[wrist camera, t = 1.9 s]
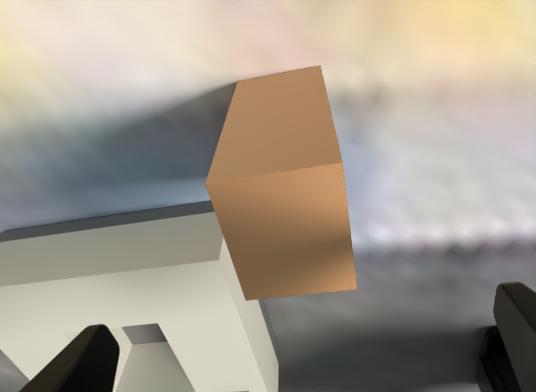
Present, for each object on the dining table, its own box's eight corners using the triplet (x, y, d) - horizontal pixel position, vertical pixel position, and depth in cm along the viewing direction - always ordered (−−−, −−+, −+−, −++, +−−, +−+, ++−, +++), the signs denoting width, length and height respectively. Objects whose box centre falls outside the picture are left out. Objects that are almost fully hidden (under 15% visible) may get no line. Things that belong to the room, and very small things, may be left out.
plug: (320, 65, 16) (342, 162, 10) (332, 160, 19) (357, 288, 12) (237, 81, 17) (205, 183, 10) (260, 171, 19) (245, 300, 13)
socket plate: (231, 197, 20) (216, 268, 16) (278, 351, 27) (277, 427, 23) (5, 230, 22) (-60, 301, 18) (104, 366, 29) (74, 439, 25)
